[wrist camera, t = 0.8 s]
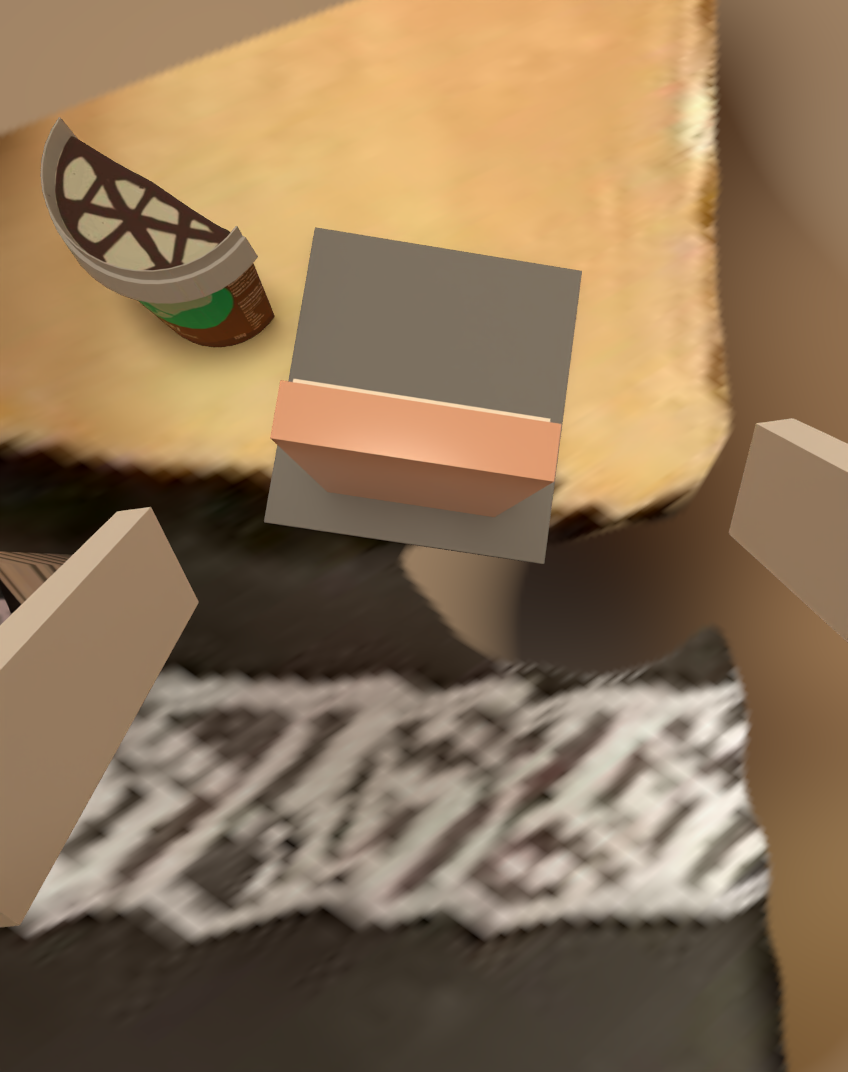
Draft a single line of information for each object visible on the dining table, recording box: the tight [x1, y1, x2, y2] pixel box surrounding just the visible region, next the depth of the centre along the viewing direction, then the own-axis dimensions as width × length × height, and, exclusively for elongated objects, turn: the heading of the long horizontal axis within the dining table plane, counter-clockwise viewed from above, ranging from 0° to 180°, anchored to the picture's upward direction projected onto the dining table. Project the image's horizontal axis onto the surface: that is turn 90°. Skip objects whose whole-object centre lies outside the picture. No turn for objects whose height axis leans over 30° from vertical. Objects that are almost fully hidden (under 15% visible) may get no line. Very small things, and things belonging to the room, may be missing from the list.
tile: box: [270, 379, 562, 517], centre depth 27 cm, size 12×3×14 cm, turn 82°
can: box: [0, 552, 72, 625], centre depth 27 cm, size 11×11×12 cm
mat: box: [264, 228, 582, 564], centre depth 35 cm, size 20×22×1 cm
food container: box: [41, 117, 274, 347], centre depth 30 cm, size 12×6×10 cm, turn 58°
